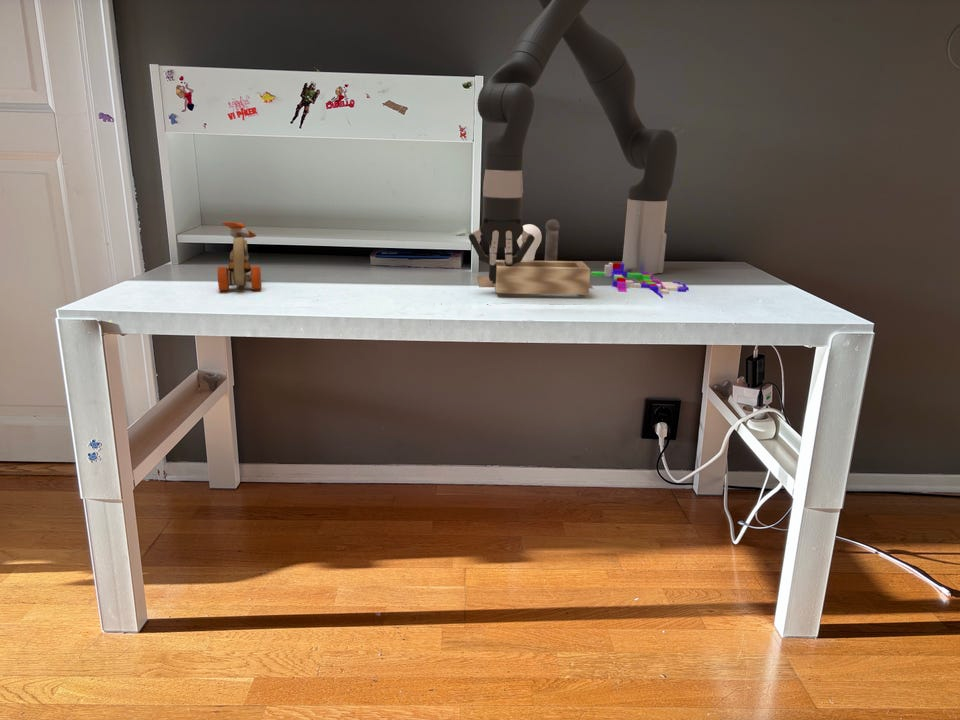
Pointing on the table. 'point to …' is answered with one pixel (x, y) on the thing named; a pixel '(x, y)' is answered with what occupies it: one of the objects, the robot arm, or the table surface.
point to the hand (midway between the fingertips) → (499, 282)
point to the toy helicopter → (239, 261)
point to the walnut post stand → (550, 249)
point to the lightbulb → (537, 235)
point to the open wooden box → (542, 277)
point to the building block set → (644, 277)
